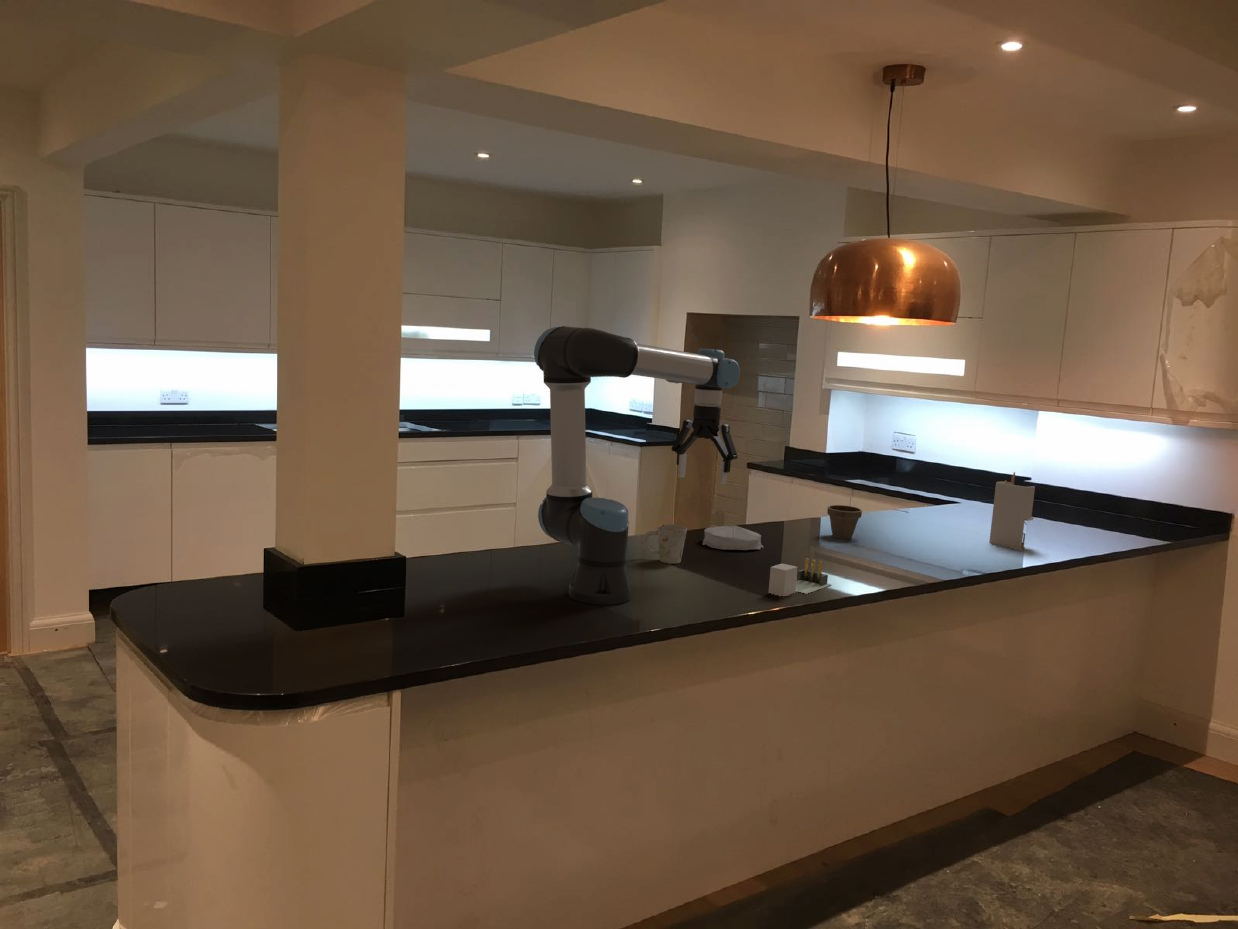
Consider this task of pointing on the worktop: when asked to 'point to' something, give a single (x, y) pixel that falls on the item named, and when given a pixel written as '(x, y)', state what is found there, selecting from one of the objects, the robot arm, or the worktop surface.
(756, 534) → the food container
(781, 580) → the plug housing
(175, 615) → the worktop surface
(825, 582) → the board
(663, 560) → the mug
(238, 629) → the worktop surface
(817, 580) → the header pins
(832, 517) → the flower pot
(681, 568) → the worktop surface
